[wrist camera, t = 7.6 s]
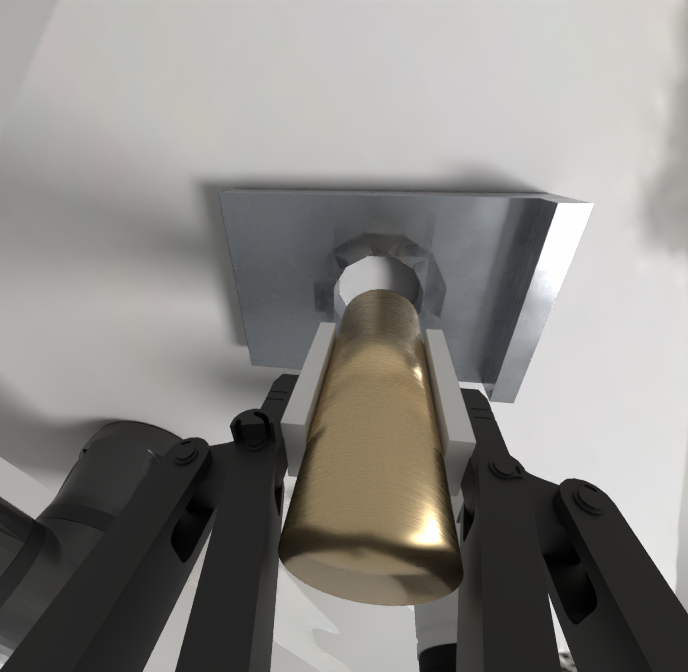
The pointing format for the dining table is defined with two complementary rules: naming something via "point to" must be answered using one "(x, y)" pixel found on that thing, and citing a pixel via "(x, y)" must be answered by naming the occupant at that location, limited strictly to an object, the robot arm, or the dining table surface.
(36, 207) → the dining table surface
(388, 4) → the dining table surface
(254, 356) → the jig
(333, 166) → the dining table surface
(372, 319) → the gold metal cylinder
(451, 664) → the travel mug
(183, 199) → the dining table surface
